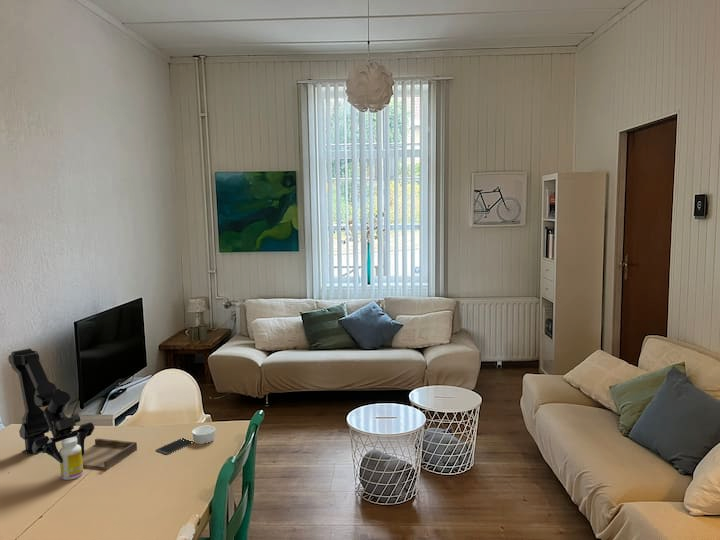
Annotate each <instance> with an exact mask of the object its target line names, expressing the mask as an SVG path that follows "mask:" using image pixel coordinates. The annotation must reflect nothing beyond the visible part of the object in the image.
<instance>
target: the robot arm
mask: <svg viewBox="0 0 720 540" xmlns="http://www.w3.org/2000/svg"><path fill="white" fill-rule="evenodd" d="M8 362H9V364H10V366H11V369H12V370H13V371H14V372H16V374H17V375H18V379H19V384H20V390H21V394H22V400H23V405H24V410H25V412H24V414H23V417H22V418H21V426H20V428H19V431H18V433H19V437H20V438H22V439H23V440H24V445H25V449H24V450H22V451H21V452H27V453H26V454H30V453H33V455H36V453H37V454H38V453H42V454H47V455H49V457H50V456H51V457H52V459H53V458H54V460H56V461H57V462H58V463H59V464H60V463H62V462H63V461H62V458H61V456H60V454H59V450H58V448H57V443H59V442H62V441H63V440H64V439H67V438H72V437H75V438H77V444H78V445H80V446H81V451H82V456H83V455H84V451H85V440H86V438H87V437H90V436H91V435H92V434H93V432H94V430H95V425H94V423H92V422H91V421H90V422H85V423H83V424H80V425H79V427H78V429H76V430H74V428H75V426H77V424H78V423H80V422H81V416H80V414H79V413H78V412H76V413H72V414H71V416H70V417H68V416H66V414H65V410H67V407H68V405H69V403H70V400H71V394H69V393H68V392H67V391H64V390H61V388H58V387H57V386H56V384H55V383H53V382H50V380H49V378H48V376H47V374H46V372H45V370H44V368H43V365H42V363H41V361H40V355H39V352H38V350H32V348H25V349H20V350H14V351H12V352H11V353H10V354H9V355H8ZM42 408H45V409H44V410H43V409H42ZM49 432H50V433H51V435H52V437H49V436H48V435H46V433H47V434H48V433H49Z"/></svg>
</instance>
